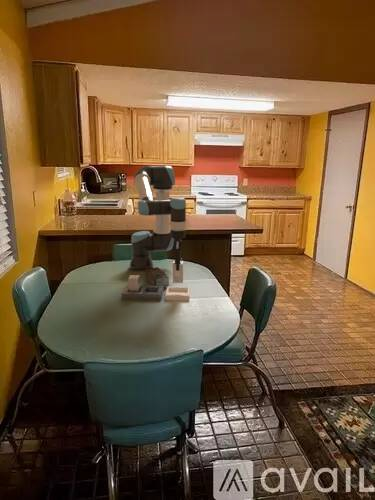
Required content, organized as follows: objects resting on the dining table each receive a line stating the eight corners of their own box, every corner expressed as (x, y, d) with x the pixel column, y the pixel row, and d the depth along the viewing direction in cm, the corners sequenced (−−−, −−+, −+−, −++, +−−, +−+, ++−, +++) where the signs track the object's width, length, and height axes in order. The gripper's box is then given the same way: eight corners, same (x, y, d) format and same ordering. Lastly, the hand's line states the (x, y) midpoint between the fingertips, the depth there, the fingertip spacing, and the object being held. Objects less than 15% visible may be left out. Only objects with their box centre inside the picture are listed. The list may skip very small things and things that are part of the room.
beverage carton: (155, 289, 185) (155, 277, 183) (145, 278, 202) (145, 267, 200) (169, 287, 188) (169, 276, 186) (158, 276, 205) (158, 266, 203)
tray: (167, 291, 182) (167, 286, 181) (189, 291, 182) (189, 286, 181) (165, 300, 171) (165, 295, 170) (189, 300, 170) (189, 295, 170)
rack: (126, 290, 182) (126, 285, 182) (163, 291, 182) (163, 285, 181) (121, 299, 171) (121, 293, 170) (161, 300, 171) (161, 294, 170)
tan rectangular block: (173, 279, 176) (173, 261, 174) (183, 279, 176) (183, 261, 174) (172, 282, 172) (172, 263, 169) (182, 282, 171) (182, 264, 169)
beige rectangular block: (130, 293, 179) (130, 275, 176) (140, 293, 179) (139, 275, 176) (129, 296, 174) (128, 278, 172) (138, 296, 174) (138, 278, 172)
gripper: (171, 225, 176) (171, 268, 182) (169, 233, 158) (169, 280, 164) (186, 226, 176) (185, 268, 182) (185, 233, 158) (184, 280, 164)
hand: (178, 274), depth 173 cm, fingers closed on tan rectangular block, 5 cm apart
